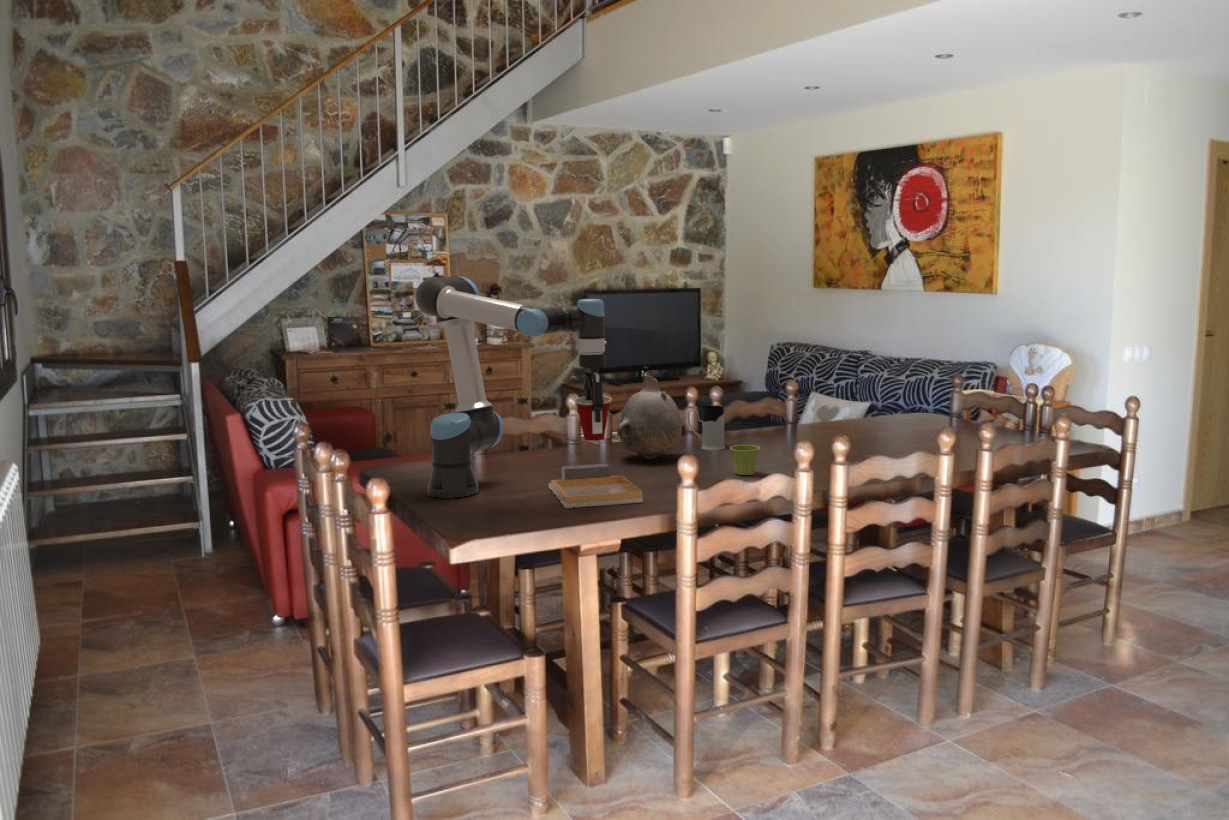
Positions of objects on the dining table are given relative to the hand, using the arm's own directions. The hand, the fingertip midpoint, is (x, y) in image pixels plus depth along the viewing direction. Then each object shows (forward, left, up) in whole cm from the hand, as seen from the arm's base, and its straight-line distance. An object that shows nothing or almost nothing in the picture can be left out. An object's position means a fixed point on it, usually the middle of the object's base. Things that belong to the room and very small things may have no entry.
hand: (593, 430), depth 292 cm
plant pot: (+52, +15, -20) cm, 58 cm away
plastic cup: (0, 0, -3) cm, 3 cm away
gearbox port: (0, +3, -20) cm, 20 cm away
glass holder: (+55, +62, -20) cm, 86 cm away
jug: (+30, +47, -20) cm, 59 cm away
